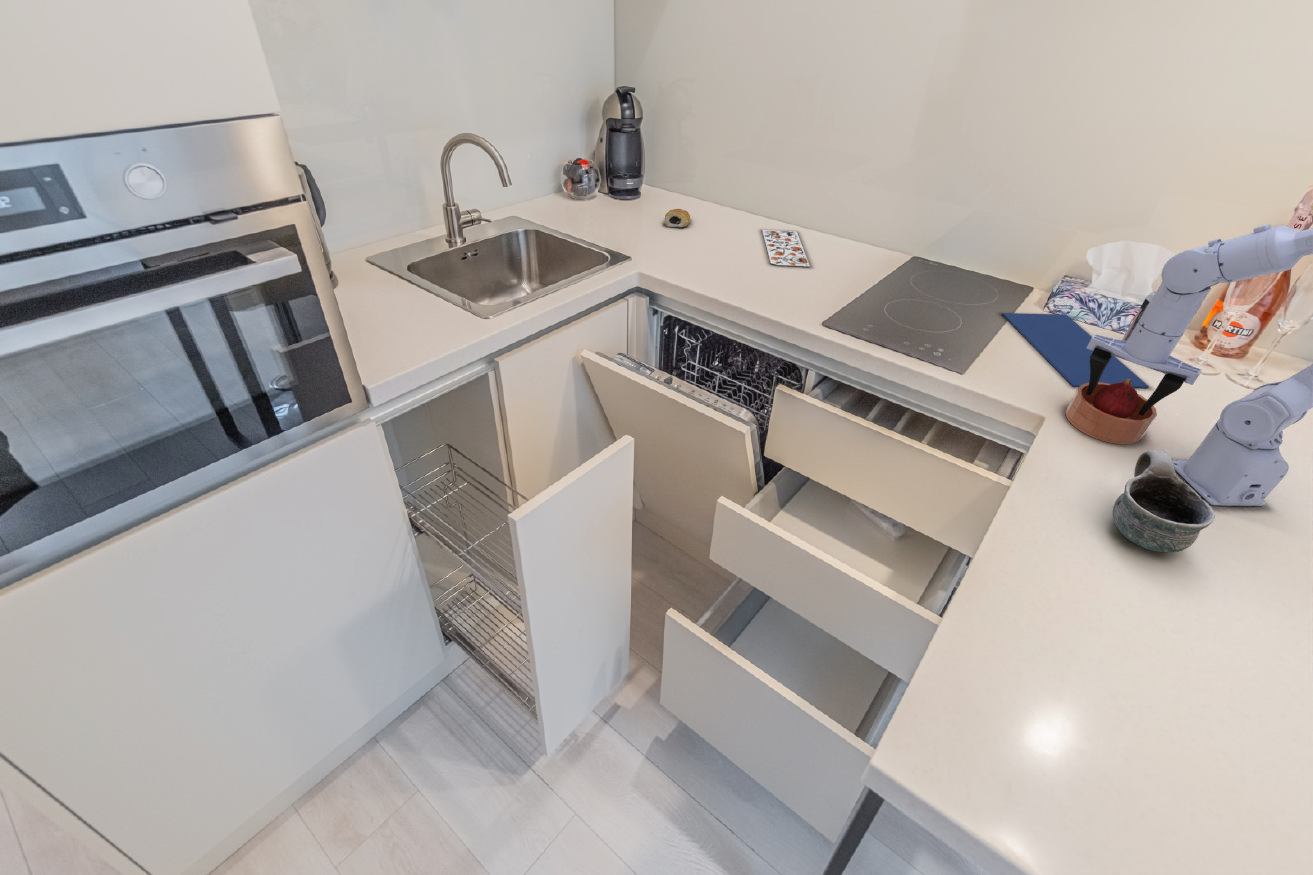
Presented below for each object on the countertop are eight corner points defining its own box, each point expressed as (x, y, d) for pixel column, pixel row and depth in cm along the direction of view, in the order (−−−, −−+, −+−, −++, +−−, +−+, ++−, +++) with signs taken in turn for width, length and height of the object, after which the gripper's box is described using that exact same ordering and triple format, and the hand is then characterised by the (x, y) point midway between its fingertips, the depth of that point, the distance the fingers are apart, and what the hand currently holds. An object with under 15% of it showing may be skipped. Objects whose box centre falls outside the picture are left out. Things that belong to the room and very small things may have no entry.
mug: (1125, 563, 79) (1168, 506, 73) (1075, 495, 89) (1109, 440, 83) (1200, 566, 79) (1250, 510, 73) (1142, 498, 89) (1181, 443, 83)
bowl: (1158, 445, 99) (1173, 422, 96) (1088, 443, 99) (1102, 421, 96) (1116, 404, 108) (1129, 382, 105) (1052, 403, 107) (1063, 381, 105)
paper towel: (810, 266, 150) (771, 264, 150) (809, 266, 150) (771, 264, 150) (796, 230, 169) (762, 229, 169) (796, 231, 169) (762, 229, 169)
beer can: (1117, 354, 122) (1149, 297, 115) (1116, 343, 125) (1147, 288, 118) (1145, 360, 120) (1180, 303, 113) (1143, 350, 124) (1177, 294, 116)
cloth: (1148, 388, 112) (1149, 386, 112) (1072, 386, 112) (1073, 384, 112) (1065, 316, 134) (1066, 314, 134) (1002, 314, 134) (1002, 313, 134)
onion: (1130, 433, 100) (1156, 392, 95) (1092, 428, 101) (1116, 387, 96) (1117, 413, 105) (1141, 372, 100) (1080, 408, 106) (1102, 367, 101)
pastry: (670, 215, 176) (671, 201, 174) (693, 218, 175) (695, 204, 173) (662, 226, 169) (663, 212, 167) (686, 229, 168) (687, 215, 165)
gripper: (1223, 336, 91) (1172, 411, 99) (1113, 302, 98) (1074, 375, 107) (1215, 353, 87) (1162, 430, 95) (1101, 316, 94) (1061, 391, 103)
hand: (1115, 402), depth 101 cm, fingers open, 7 cm apart
